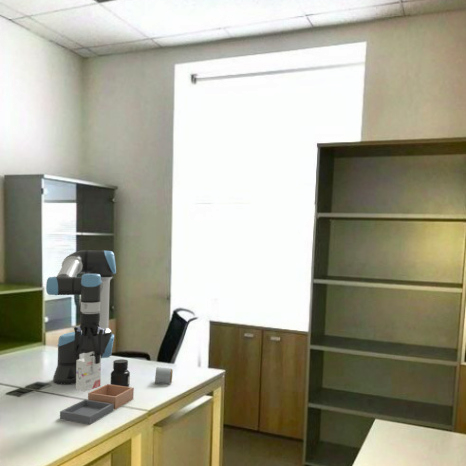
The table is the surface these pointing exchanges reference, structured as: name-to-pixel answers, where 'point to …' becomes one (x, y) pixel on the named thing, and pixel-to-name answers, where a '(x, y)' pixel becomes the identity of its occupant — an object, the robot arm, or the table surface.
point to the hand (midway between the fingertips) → (88, 370)
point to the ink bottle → (120, 373)
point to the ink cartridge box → (87, 373)
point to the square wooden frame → (112, 395)
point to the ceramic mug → (163, 375)
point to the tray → (86, 411)
